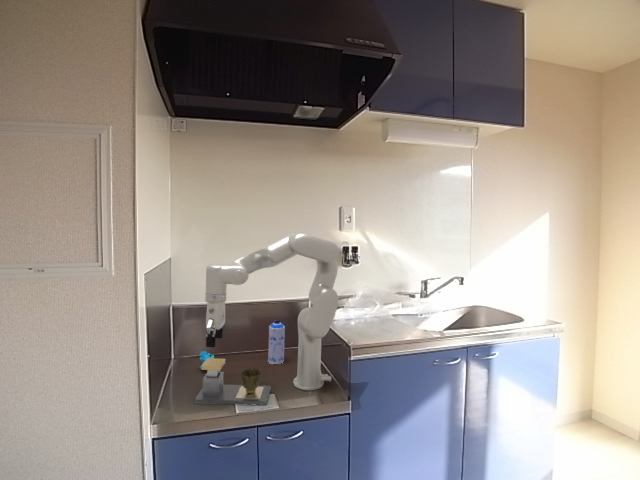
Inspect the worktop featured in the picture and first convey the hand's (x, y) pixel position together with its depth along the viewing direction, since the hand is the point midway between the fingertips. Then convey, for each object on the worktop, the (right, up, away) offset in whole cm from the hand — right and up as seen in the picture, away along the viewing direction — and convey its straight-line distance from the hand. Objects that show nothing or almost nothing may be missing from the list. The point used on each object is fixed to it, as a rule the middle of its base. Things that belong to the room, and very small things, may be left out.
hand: (214, 342), depth 131 cm
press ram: (-1, -16, +1) cm, 16 cm away
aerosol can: (+19, -20, +35) cm, 45 cm away
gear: (-10, -19, +25) cm, 33 cm away
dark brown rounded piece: (+13, -20, +1) cm, 24 cm away
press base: (+7, -21, +1) cm, 22 cm away
